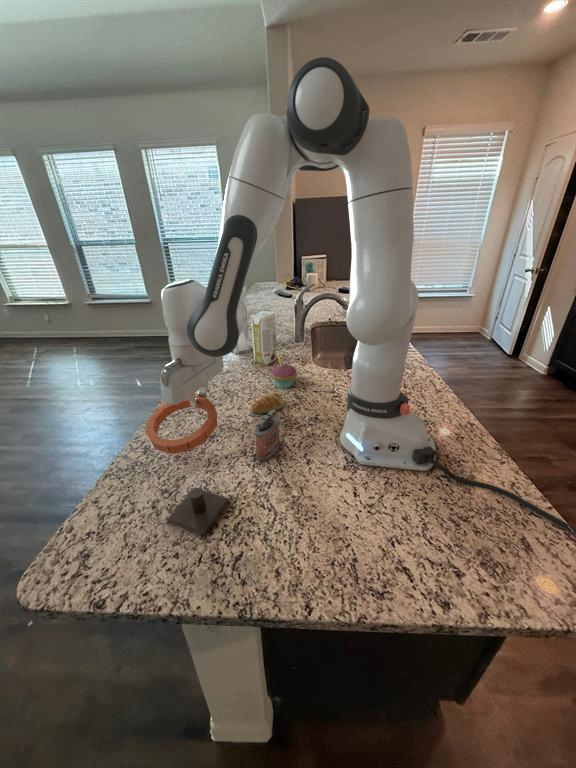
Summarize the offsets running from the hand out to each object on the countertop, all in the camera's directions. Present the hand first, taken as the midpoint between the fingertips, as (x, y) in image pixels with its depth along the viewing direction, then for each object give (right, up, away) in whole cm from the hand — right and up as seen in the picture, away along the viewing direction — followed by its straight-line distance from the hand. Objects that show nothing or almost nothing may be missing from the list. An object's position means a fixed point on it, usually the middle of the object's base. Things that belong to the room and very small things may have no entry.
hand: (198, 401), depth 80 cm
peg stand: (+6, -20, -20) cm, 29 cm away
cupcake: (+22, +4, +25) cm, 34 cm away
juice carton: (+14, +14, +44) cm, 49 cm away
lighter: (+18, -12, -5) cm, 22 cm away
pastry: (+17, -3, +13) cm, 22 cm away
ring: (-2, -6, -4) cm, 7 cm away
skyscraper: (+3, +19, +56) cm, 59 cm away
